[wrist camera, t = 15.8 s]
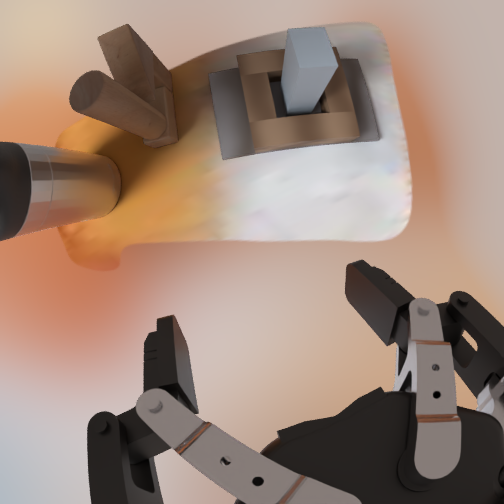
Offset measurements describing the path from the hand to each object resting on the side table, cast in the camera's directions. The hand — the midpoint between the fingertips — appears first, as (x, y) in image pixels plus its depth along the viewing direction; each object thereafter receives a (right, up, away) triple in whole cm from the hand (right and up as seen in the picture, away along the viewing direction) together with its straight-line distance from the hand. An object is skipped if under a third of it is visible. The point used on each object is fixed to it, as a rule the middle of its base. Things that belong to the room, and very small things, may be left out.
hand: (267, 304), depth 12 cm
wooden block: (-12, +21, +20) cm, 32 cm away
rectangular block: (+5, +21, +18) cm, 28 cm away
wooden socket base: (+5, +21, +19) cm, 28 cm away
